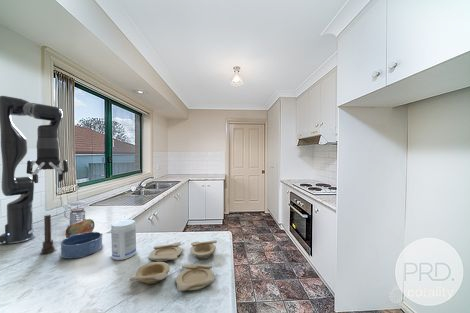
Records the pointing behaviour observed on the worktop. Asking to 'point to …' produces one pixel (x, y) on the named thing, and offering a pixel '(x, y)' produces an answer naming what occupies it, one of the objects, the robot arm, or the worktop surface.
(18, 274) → the worktop surface
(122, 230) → the supplement tub
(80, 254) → the bowl
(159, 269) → the tableware set
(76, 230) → the tin
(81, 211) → the french press
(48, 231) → the muddler
